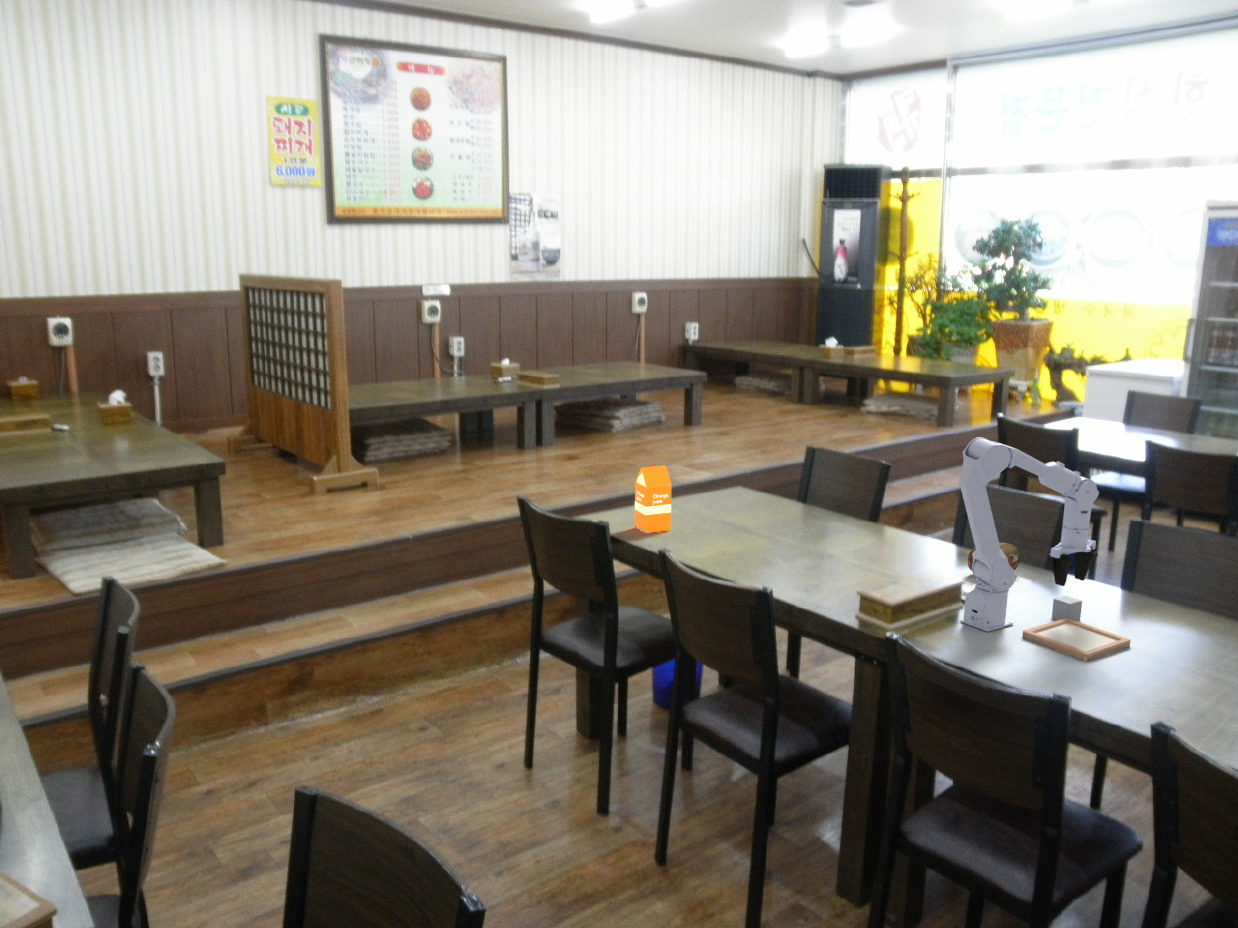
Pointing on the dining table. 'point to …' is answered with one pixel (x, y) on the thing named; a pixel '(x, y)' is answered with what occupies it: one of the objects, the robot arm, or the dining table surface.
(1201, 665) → the dining table surface
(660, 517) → the orange juice
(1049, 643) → the picture frame
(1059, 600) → the block
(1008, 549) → the tin
